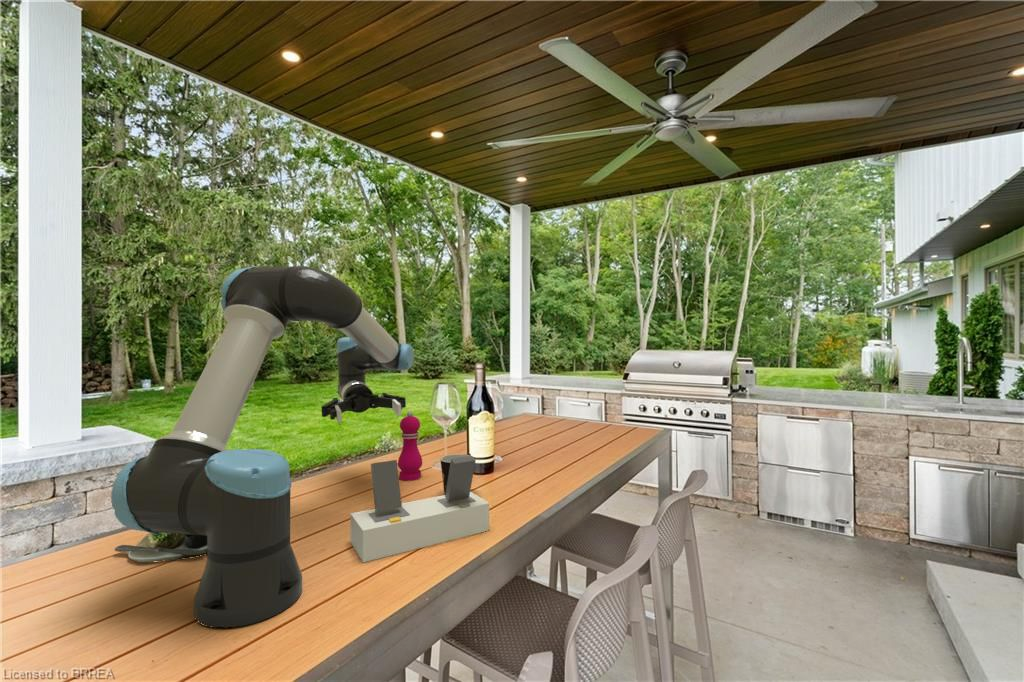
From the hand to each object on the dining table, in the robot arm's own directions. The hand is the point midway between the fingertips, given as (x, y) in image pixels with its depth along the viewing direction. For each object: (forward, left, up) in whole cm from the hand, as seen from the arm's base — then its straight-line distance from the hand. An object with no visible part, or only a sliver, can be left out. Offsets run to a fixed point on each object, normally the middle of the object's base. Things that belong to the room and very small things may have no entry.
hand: (370, 413), depth 109 cm
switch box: (+6, -17, -24) cm, 30 cm away
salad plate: (-36, +5, -25) cm, 44 cm away
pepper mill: (+18, +24, -24) cm, 39 cm away
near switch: (-1, -17, -18) cm, 25 cm away
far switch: (+14, -17, -18) cm, 29 cm away
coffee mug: (+24, +3, -24) cm, 35 cm away
